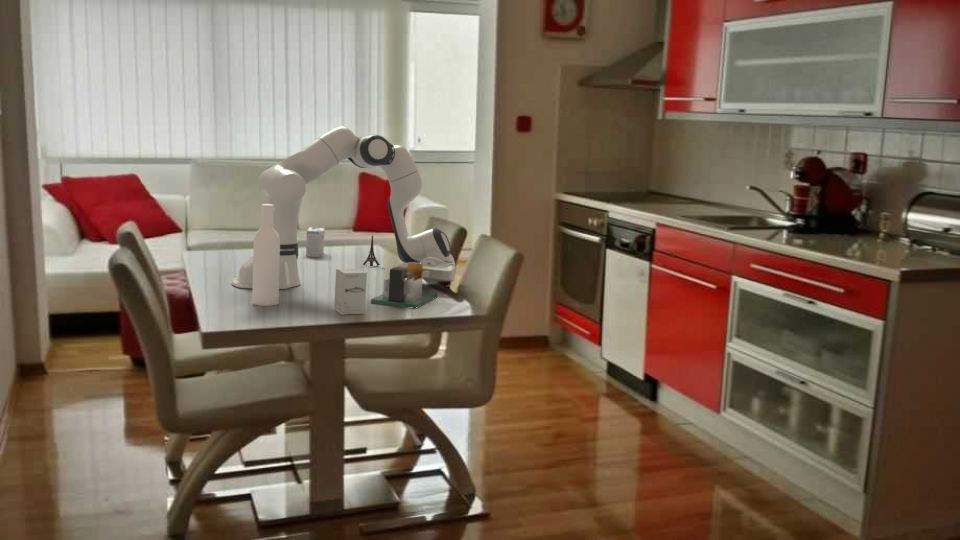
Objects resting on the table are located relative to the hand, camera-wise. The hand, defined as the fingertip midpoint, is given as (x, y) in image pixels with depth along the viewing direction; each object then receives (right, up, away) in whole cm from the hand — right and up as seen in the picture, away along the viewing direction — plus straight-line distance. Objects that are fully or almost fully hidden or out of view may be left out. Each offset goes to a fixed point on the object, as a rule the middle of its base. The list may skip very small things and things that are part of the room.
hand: (418, 274), depth 289 cm
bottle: (-44, -9, -28) cm, 53 cm away
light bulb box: (-48, +8, +69) cm, 85 cm away
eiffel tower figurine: (-22, +3, +52) cm, 56 cm away
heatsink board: (-4, -8, -10) cm, 13 cm away
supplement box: (-18, -11, -33) cm, 39 cm away
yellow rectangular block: (-3, -5, -8) cm, 9 cm away
